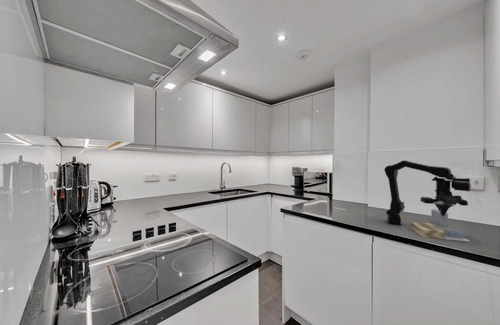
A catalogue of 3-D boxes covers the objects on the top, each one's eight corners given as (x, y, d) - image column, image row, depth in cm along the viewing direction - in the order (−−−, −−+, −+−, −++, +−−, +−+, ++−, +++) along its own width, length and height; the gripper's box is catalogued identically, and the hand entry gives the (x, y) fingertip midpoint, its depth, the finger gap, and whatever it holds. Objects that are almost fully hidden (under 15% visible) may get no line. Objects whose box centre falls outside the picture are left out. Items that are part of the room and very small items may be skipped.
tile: (464, 234, 103) (464, 238, 103) (457, 230, 108) (457, 234, 108) (449, 232, 105) (449, 236, 105) (443, 228, 111) (443, 232, 111)
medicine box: (448, 226, 122) (448, 212, 122) (440, 225, 123) (440, 212, 123) (438, 222, 130) (438, 209, 130) (431, 221, 131) (431, 209, 131)
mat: (445, 239, 103) (445, 238, 103) (431, 230, 116) (431, 229, 116) (470, 241, 100) (470, 241, 100) (453, 232, 113) (453, 231, 113)
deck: (421, 236, 107) (421, 229, 107) (410, 228, 120) (410, 221, 120) (444, 239, 103) (444, 231, 103) (430, 229, 116) (430, 223, 116)
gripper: (430, 190, 105) (429, 218, 105) (475, 192, 98) (475, 222, 98) (420, 187, 115) (420, 212, 115) (460, 188, 108) (460, 215, 109)
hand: (442, 215), depth 109 cm, fingers closed
